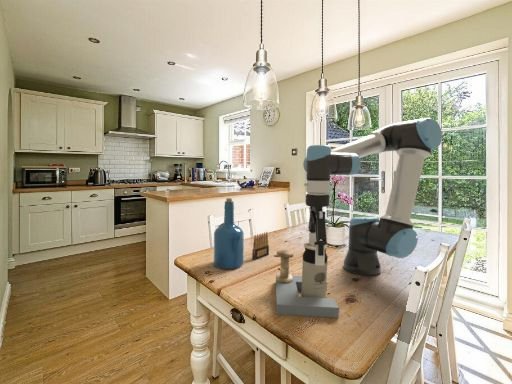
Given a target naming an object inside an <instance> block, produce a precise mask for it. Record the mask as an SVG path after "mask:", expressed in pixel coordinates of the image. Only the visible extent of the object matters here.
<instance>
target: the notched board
mask: <svg viewBox="0 0 512 384" xmlns="http://www.w3.org/2000/svg"><path fill="white" fill-rule="evenodd" d="M290 275H291V276H292V277H293V281H292V282H290V283H281V282H278V281H277V280H276V279H275V302H276V303H275V305H276V307H275V308H276V315H283V316H300V317H301V316H303V317H317V318H321V317H322V318H336V319H337V318H338V319H339V315H340V314H339V312H340V307H339V305H338V303H337V301H336V299H335V298H334V297H333V298H332V297H326V298H315V297H301V296H299V291H302V275H295V274H294V275H293V274H290ZM327 291H328V283H327V281H326V292H327Z"/></svg>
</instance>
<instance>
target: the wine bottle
mask: <svg viewBox="0 0 512 384" xmlns="http://www.w3.org/2000/svg"><path fill="white" fill-rule="evenodd" d="M234 205H235V204H234V200H233V198H232V197H227V198H226V200H225V201H224V207H223V209H224V212H223V213H224V216H223V222H222V223H221V224H219V225H218V226H217V228H216V229H215V230H214V232H213V265H214V266H215V267H216V268H218V269H220V270H235V269H238V268H241V267H242V265H244V253H245V252H244V247H245V246H244V245H245V244H244V242H245V241H244V240H245V239H244V238H245V237H244V236H245V234H244V231H243V229H242V228H241V227H240V226H238V225H237V224H235V214H234V209H235V206H234Z"/></svg>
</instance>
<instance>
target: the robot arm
mask: <svg viewBox="0 0 512 384" xmlns="http://www.w3.org/2000/svg"><path fill="white" fill-rule="evenodd" d="M442 140H443V131H442V129H441V126H440V124H439V123H438V121H437V120H436V119H434V118H432V117H425V118H418V119H413V120H407V121H401V122H396V123H392V124H389V125H386V126H384V127H382V128H378V129H376V130H375V131H371V132H370V133H369V134H368V135H366V136H364V137H362V138H359V139H355V140H352V141H350V142H348V143H345V144H342V145H340V146H336V147H334V148H331V146H330V145H328V144H315V145H310V146H308V147H307V149H306V155H305V156H306V157H305V158H304V160H303V163H302V165H303V170H304V171H305V179H306V181H305V183H304V184H303V186H304V187H305V192H306V194H305V205H306V206H307V207H309V217H308V218H309V219H308V227H307V229H308V233H309V234H308V243H314V245H316V246H315V265H322V266H324V265H325V245H326V246H327V245H328V244H327V243H328V242H327V241H328V239H327V226H326V225H327V224H326V211H323V208H324V207H329V206H330V196H331V195H329V194H330V193H331V176H353V175H356V174H358V172H359V171H360V169H361V167H362V165H361V164H362V161H361V159H362V158H364V157H367V156H370V155H373V154H375V155H376V154H381V153H384V152H385V153H387V152H396V154H397V155H398V161H397V165H396V169H395V173H394V178H393V182H392V185H391V189H390V194H389V198H388V202H387V206H386V210H385V214H384V215H382V216H380V218H379V217H376V216H355V217H352V218H351V219H350V221H349V225H348V226H349V227H348V250H347V253H346V255H345V257H344V260H343V268H344V269H345V270H346V271H348V272H351V273H354V274H357V275H362V276H376V275H379V274H381V269H382V268H381V267H382V266H381V263H380V260H379V259H380V258H379V256H378V252H379V253H381V254H385V255H387V256H388V257H394V258H398V259H404V258H407V257H409V256H410V255H411V254H413V252H414V251H415V249H416V248H417V244H418V240H419V238H418V234H417V232H416V230H414V224H413V222H412V220H411V217H412V212H413V208H414V204H415V201H416V200H415V199H416V195H417V193H418V192H417V191H418V188H419V184H420V180H421V176H422V173H423V172H422V171H423V167H424V163H425V159H428V158H429V157H430V156H431V155H432V150H435V149H437V148H439V146H440V145H441V144H442Z"/></svg>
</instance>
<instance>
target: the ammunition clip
mask: <svg viewBox="0 0 512 384" xmlns="http://www.w3.org/2000/svg"><path fill="white" fill-rule="evenodd" d="M252 246H253V247H252V255H251V260H252V261H253V260H254V261H257V260H260V259H262V258H265V257H268V256H269V254H270V251H269V250H270V246H269V233H268V231H266V232H264V233H263V232H261V233H259V234H257V235H256V234H255V235H254V237H253V245H252Z"/></svg>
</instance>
